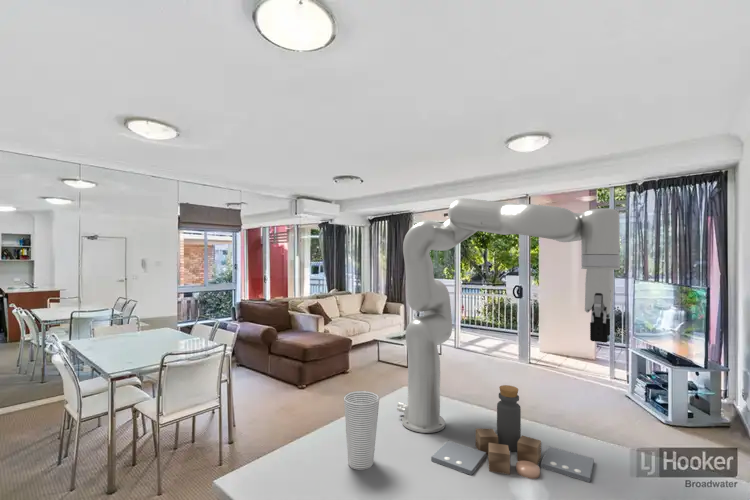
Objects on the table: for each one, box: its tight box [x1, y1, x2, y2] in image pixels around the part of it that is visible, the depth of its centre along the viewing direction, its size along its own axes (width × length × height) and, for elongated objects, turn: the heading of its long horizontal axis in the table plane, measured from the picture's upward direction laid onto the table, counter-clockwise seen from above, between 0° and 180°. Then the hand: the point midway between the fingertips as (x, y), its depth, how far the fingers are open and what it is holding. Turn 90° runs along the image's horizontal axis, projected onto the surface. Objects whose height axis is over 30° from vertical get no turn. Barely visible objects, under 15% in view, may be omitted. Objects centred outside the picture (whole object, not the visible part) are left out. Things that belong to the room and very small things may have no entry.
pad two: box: [430, 440, 487, 476], centre depth 90 cm, size 10×10×1 cm
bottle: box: [496, 384, 522, 452], centre depth 97 cm, size 6×6×15 cm
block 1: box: [474, 427, 498, 456], centre depth 94 cm, size 4×4×4 cm
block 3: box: [516, 435, 542, 466], centre depth 90 cm, size 4×4×4 cm
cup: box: [343, 390, 380, 471], centre depth 87 cm, size 8×8×16 cm
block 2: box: [487, 443, 511, 475], centre depth 86 cm, size 4×4×4 cm
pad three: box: [540, 445, 595, 483], centre depth 88 cm, size 10×10×1 cm
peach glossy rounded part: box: [515, 461, 541, 480], centre depth 84 cm, size 5×5×2 cm
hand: (600, 338), depth 84 cm, fingers open, 9 cm apart
